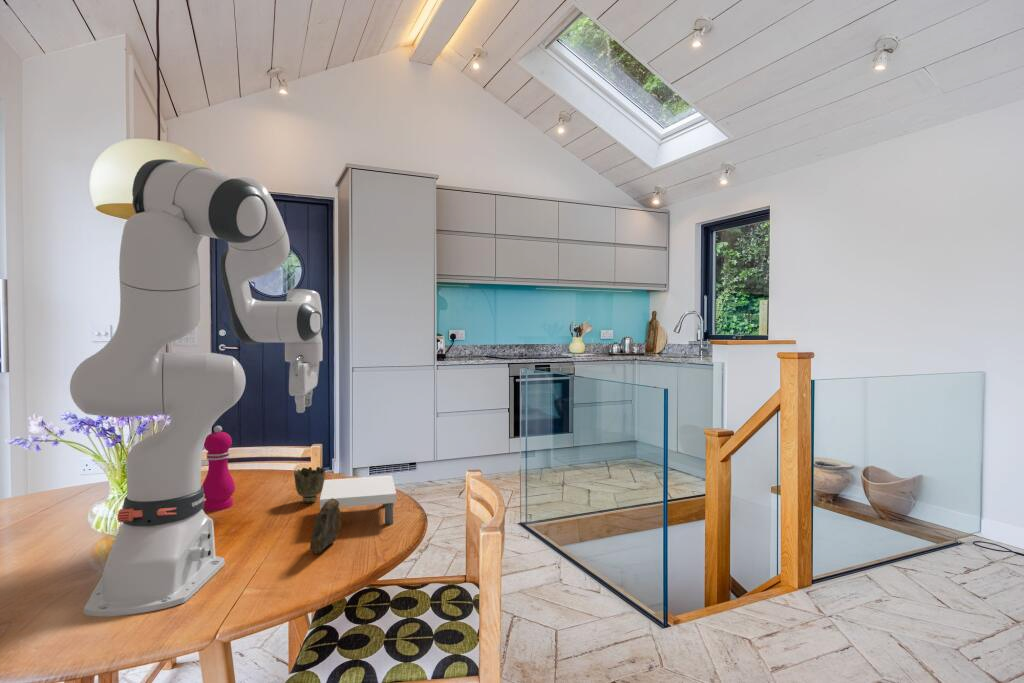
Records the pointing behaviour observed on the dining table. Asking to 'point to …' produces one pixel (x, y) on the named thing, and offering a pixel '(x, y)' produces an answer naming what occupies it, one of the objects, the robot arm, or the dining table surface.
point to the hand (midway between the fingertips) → (304, 409)
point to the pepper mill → (218, 472)
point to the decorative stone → (326, 526)
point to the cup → (309, 483)
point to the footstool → (362, 493)
